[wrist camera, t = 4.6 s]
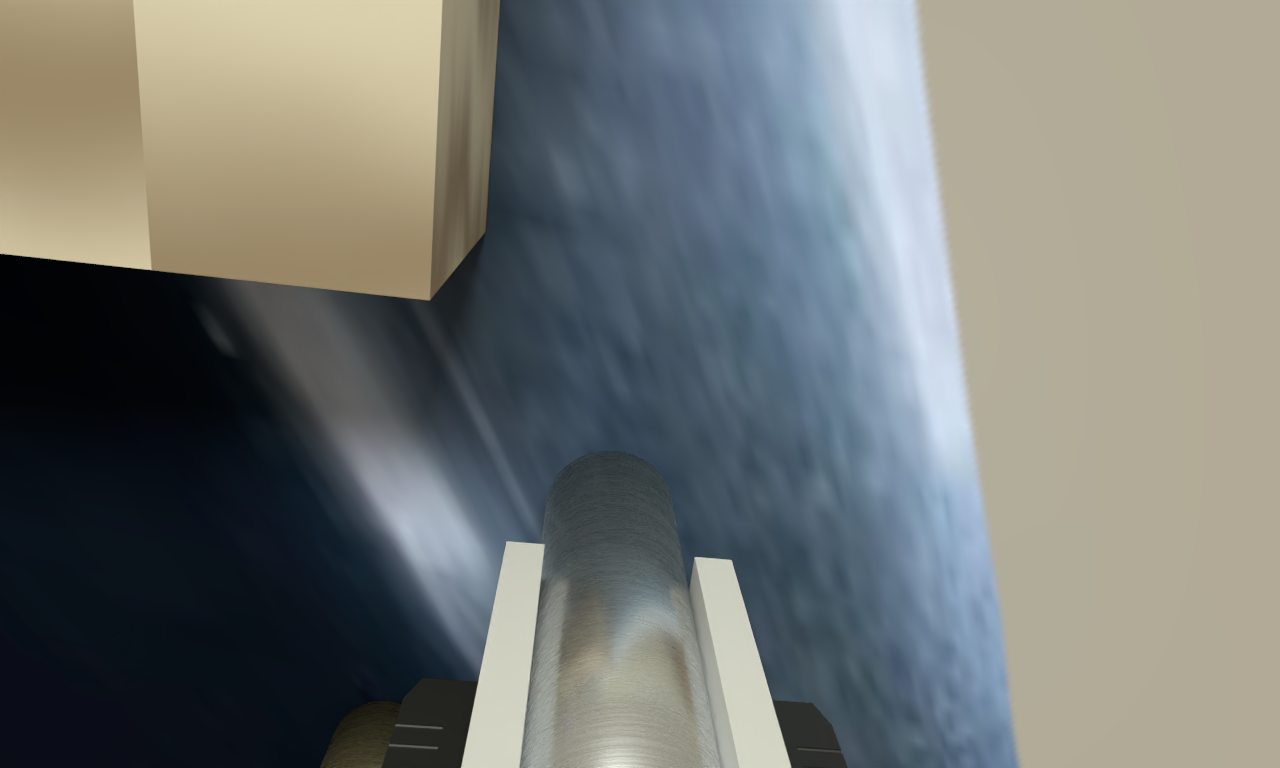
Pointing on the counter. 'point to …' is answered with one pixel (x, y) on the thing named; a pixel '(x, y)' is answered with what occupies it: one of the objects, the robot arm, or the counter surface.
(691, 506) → the counter surface
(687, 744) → the steel pin
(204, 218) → the birch block
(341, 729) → the brass pin
